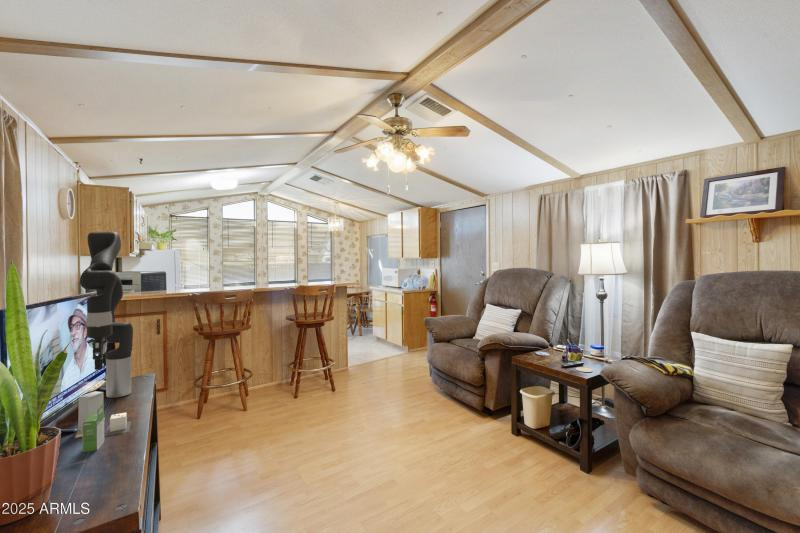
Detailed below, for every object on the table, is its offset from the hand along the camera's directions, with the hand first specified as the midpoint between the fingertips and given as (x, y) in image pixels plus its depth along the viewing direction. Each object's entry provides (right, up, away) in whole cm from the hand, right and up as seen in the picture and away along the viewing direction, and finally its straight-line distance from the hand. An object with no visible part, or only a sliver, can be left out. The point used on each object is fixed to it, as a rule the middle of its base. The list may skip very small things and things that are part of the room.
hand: (100, 366), depth 139 cm
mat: (+10, -22, -4) cm, 24 cm away
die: (+10, -22, -4) cm, 24 cm away
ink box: (+12, -22, -17) cm, 30 cm away
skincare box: (0, -21, -4) cm, 22 cm away
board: (0, -22, -4) cm, 22 cm away
